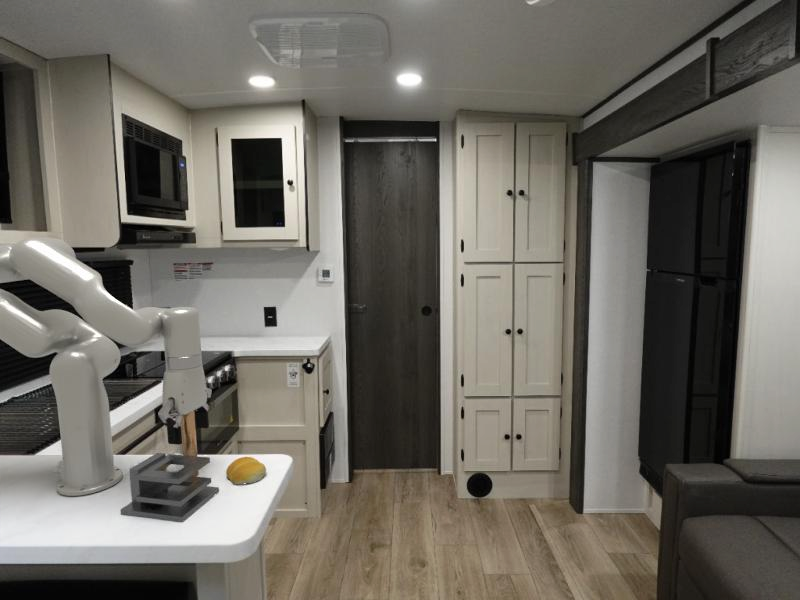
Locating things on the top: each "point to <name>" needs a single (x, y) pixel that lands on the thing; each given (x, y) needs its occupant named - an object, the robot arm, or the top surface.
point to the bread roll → (245, 470)
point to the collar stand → (168, 488)
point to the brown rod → (189, 436)
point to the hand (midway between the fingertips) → (189, 435)
